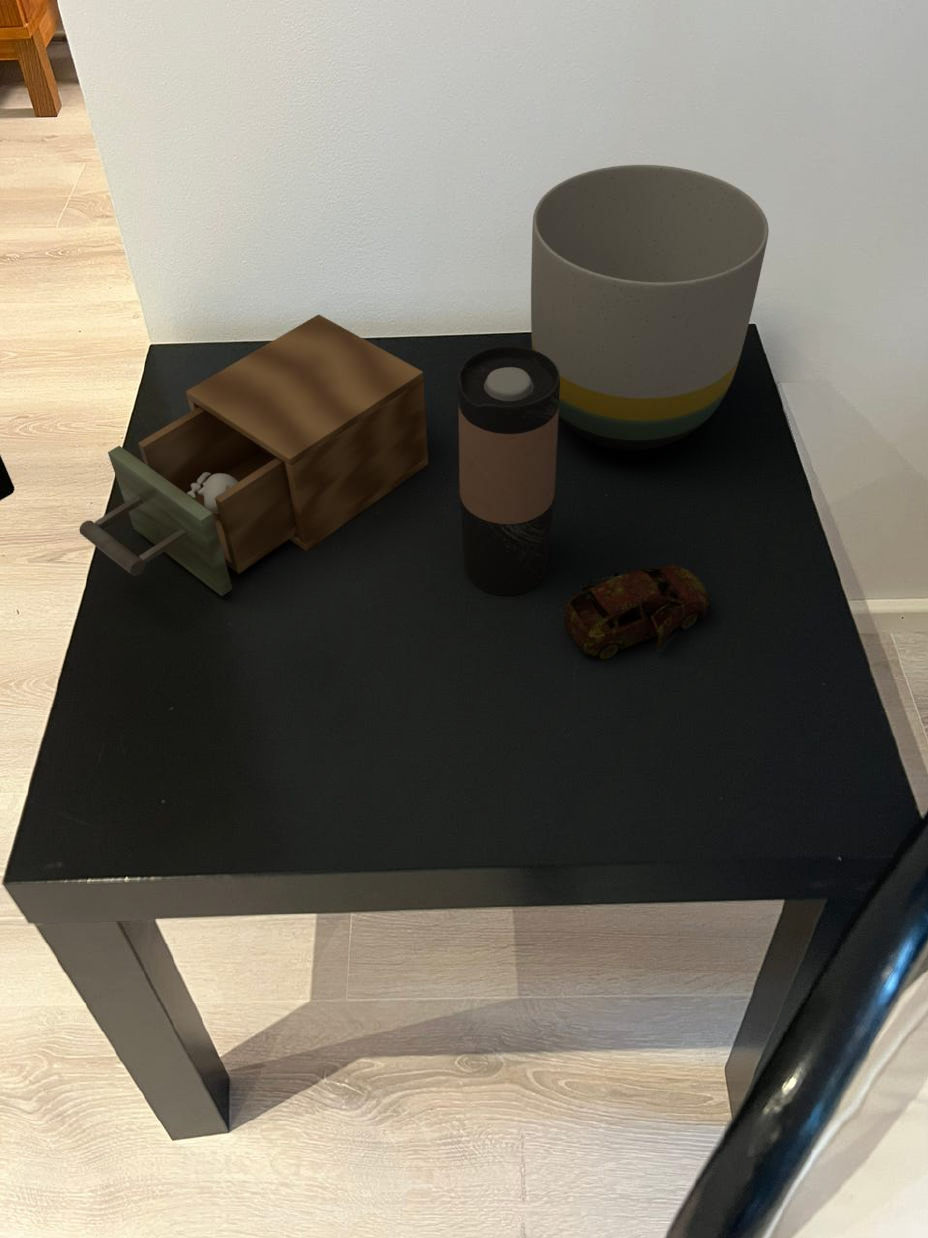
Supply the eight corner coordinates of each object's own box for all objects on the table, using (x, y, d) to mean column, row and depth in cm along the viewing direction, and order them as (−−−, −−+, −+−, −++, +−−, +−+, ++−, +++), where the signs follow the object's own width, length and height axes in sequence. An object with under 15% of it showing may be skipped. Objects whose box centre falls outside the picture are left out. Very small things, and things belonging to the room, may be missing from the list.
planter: (509, 374, 112) (512, 174, 96) (692, 354, 114) (725, 154, 98) (548, 501, 99) (560, 295, 83) (754, 476, 101) (804, 270, 85)
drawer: (167, 635, 88) (140, 560, 82) (79, 562, 94) (48, 486, 88) (347, 508, 98) (337, 431, 91) (258, 449, 104) (242, 372, 97)
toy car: (594, 681, 86) (599, 641, 82) (553, 620, 90) (556, 580, 86) (723, 631, 89) (733, 590, 85) (678, 575, 93) (685, 534, 89)
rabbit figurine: (176, 518, 95) (262, 548, 94) (174, 488, 92) (263, 519, 91) (206, 472, 98) (288, 501, 98) (204, 442, 95) (290, 471, 95)
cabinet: (306, 551, 96) (289, 459, 88) (209, 483, 102) (185, 391, 94) (428, 464, 103) (423, 371, 95) (331, 405, 109) (318, 313, 101)
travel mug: (552, 537, 96) (563, 346, 81) (547, 601, 91) (559, 410, 76) (466, 532, 97) (462, 342, 82) (457, 595, 92) (451, 405, 77)
